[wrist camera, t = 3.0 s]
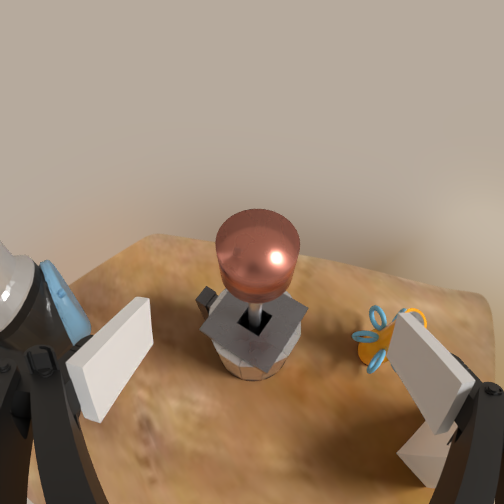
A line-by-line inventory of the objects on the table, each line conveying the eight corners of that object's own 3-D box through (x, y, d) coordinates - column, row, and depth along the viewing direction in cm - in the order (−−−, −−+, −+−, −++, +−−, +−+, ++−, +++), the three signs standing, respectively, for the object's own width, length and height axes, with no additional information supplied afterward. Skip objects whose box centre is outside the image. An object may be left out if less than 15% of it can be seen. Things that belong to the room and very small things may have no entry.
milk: (438, 404, 38) (546, 373, 16) (465, 439, 33) (569, 422, 11) (395, 453, 35) (504, 460, 13) (426, 487, 30) (530, 502, 8)
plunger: (224, 338, 37) (198, 251, 19) (248, 306, 40) (246, 197, 21) (260, 361, 36) (272, 295, 17) (282, 327, 38) (314, 231, 20)
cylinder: (333, 331, 47) (363, 296, 34) (380, 309, 49) (419, 271, 36) (360, 394, 41) (403, 382, 28) (408, 367, 43) (457, 344, 30)
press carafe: (192, 346, 46) (169, 317, 33) (230, 296, 50) (223, 250, 38) (263, 394, 42) (270, 385, 29) (300, 337, 46) (319, 305, 34)
